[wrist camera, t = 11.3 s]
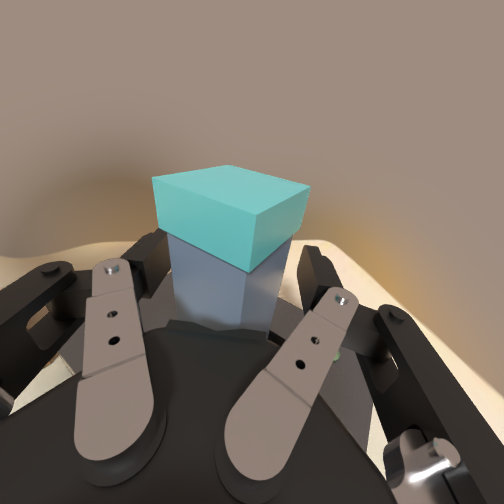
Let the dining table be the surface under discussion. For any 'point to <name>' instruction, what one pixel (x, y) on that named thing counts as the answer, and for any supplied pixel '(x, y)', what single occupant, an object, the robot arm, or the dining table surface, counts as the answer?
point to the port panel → (282, 326)
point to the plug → (228, 242)
